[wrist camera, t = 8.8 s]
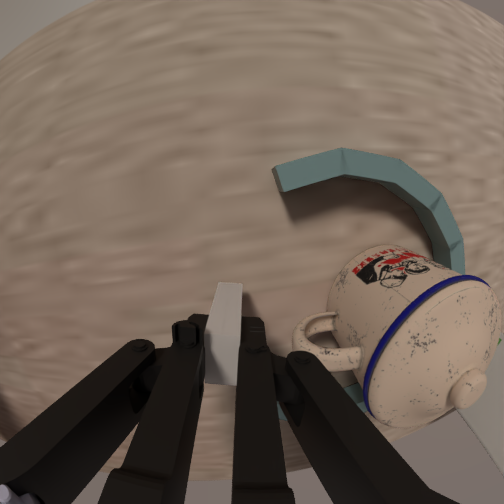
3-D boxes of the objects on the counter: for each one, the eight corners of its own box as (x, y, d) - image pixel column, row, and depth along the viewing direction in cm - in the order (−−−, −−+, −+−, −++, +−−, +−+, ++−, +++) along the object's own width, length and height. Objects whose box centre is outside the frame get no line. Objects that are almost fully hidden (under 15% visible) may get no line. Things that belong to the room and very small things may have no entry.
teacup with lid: (433, 240, 18) (550, 288, 7) (413, 344, 20) (489, 429, 9) (283, 239, 18) (339, 325, 7) (279, 359, 20) (301, 491, 9)
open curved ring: (250, 403, 21) (250, 423, 19) (273, 145, 16) (277, 138, 14) (409, 392, 21) (419, 406, 19) (461, 182, 17) (481, 183, 15)
